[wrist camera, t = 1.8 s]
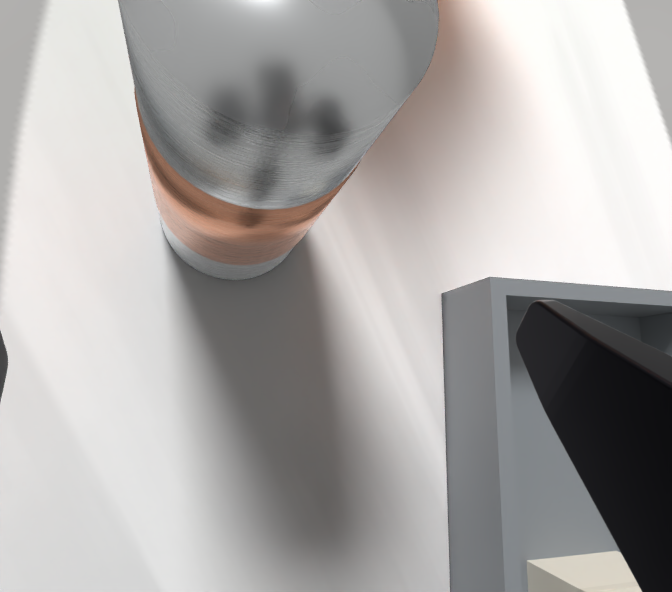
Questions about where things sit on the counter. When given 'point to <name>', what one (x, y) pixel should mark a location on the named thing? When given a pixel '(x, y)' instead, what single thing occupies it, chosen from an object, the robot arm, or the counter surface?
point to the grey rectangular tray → (520, 430)
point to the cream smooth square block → (581, 574)
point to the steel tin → (264, 112)
